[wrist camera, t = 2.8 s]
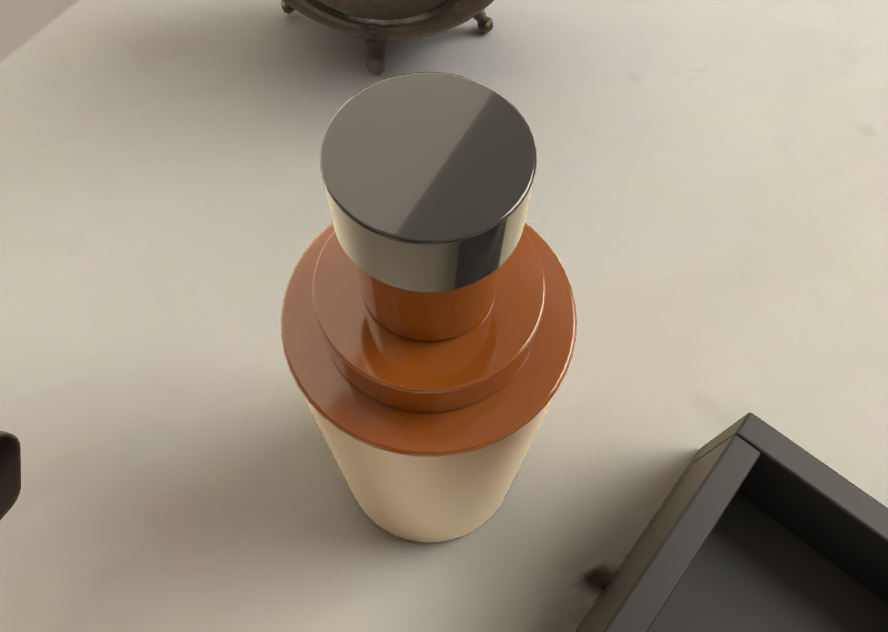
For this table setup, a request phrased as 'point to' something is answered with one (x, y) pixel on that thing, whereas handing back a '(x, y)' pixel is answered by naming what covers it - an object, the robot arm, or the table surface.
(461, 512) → the bottle
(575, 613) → the table surface
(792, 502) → the compartment tray
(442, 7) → the alarm clock
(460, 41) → the table surface
